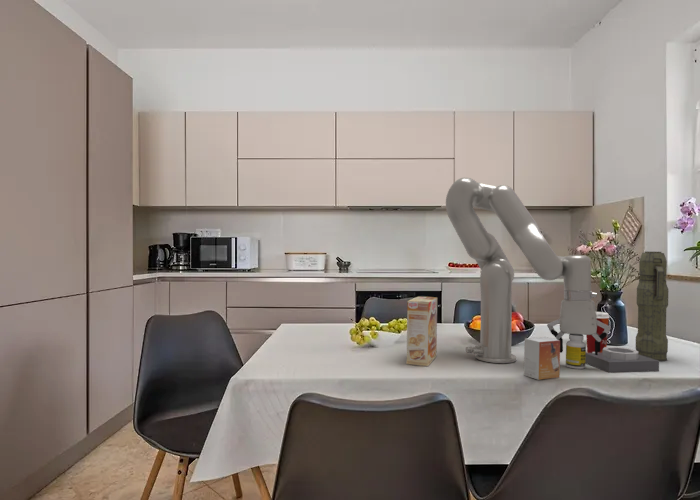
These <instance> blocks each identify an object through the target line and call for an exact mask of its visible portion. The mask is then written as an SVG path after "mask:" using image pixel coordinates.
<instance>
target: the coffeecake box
mask: <svg viewBox="0 0 700 500" xmlns="http://www.w3.org/2000/svg"><path fill="white" fill-rule="evenodd" d="M406 309H407V311H406V312H407V313H406V314H407V315H406V318H407V319H406V321H407V322H406V365H410V366H411V365H412V366H421V367H429V366H430V365H431V364H432V363H433V361H434V360H435V358H436V357H437V342H438V341H437V338H438V337H437V335H438V334H437V329H438V297H437V296H436V297H434V296H419V295H418V296H416V297H414V298H411V299H409V300H407V308H406Z"/></svg>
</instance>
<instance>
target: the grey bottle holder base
mask: <svg viewBox="0 0 700 500" xmlns="http://www.w3.org/2000/svg"><path fill="white" fill-rule="evenodd" d="M586 364H587V365H589V366H591V367H595V368H597V369H599V370H601V371H604V372H606V373H635V372H642V373H643V372H659V371H660V362H659V361H658V360H655V359H651V358H648V357H645V356H642V355H639V351H636V349H634V348H627V347H626V348H625V347H621V346H620V347H619V346H607V347H604V348H603V349H602V353H598V355H595V352H592V353H587V352H586V359H585V365H586Z"/></svg>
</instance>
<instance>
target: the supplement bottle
mask: <svg viewBox="0 0 700 500" xmlns="http://www.w3.org/2000/svg"><path fill="white" fill-rule="evenodd" d="M584 337H585V336H584V335H581V334H568V339H569V340H568V341H566V344H565V345H566V346H565V366H566V367H567V368H571V369H574V370H575V369H576V370H577V369H578V370H583V369H585V368H586V363H585V359H586V353H587V343H585V342H583V341H584Z"/></svg>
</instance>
